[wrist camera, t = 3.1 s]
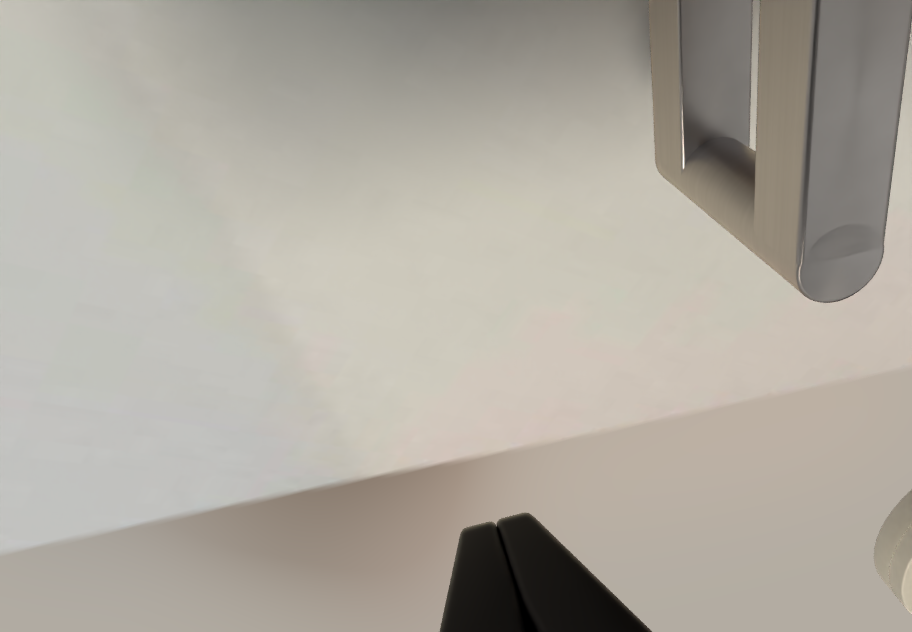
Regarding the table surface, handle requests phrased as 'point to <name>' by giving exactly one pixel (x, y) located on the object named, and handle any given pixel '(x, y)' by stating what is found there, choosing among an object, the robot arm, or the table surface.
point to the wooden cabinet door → (785, 127)
